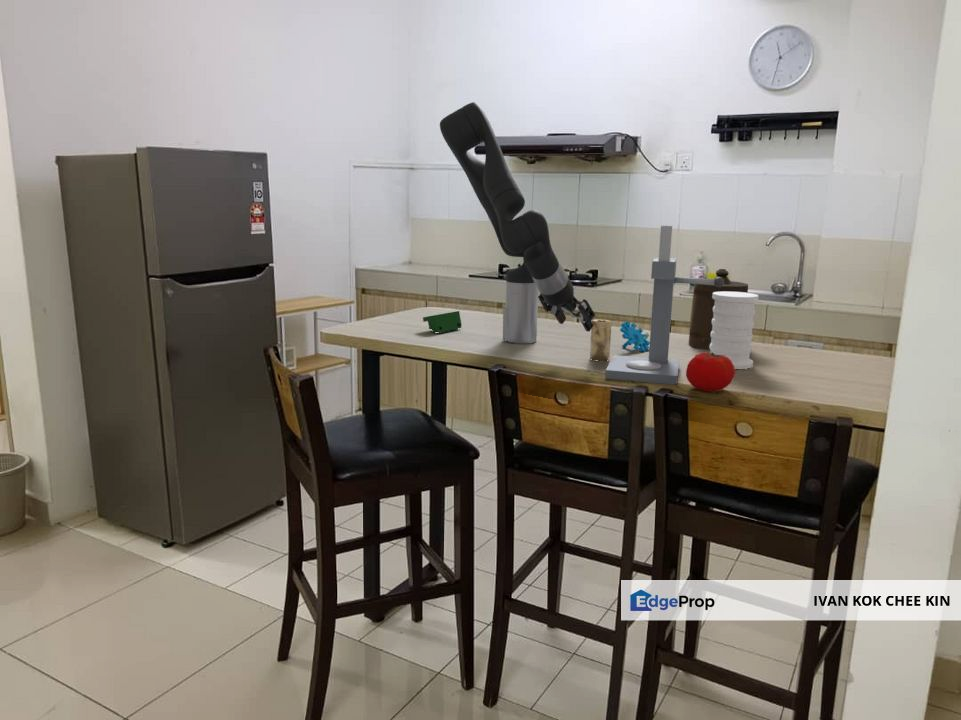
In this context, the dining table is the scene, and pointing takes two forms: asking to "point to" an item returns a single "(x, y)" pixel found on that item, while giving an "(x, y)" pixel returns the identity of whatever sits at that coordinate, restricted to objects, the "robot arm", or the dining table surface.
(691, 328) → the wooden container
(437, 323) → the dark green angular piece
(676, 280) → the press
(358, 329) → the dining table surface
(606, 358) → the disc
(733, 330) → the decorative container
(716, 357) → the tomato
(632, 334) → the gear
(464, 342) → the dining table surface
